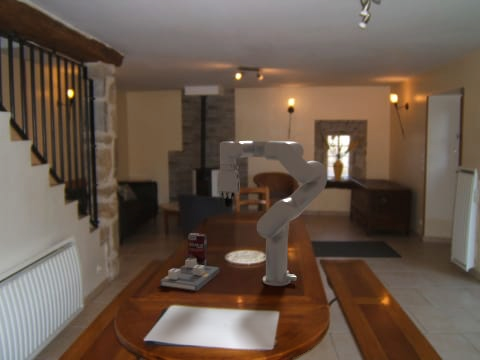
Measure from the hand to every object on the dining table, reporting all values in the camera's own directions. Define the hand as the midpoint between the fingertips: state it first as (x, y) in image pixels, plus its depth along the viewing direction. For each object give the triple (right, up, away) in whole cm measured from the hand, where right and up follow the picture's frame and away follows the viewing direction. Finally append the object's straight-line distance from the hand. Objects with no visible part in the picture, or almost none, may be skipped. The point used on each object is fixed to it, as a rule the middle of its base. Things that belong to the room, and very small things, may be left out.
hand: (228, 206), depth 196 cm
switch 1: (-24, -31, -12) cm, 41 cm away
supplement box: (-16, -31, +14) cm, 38 cm away
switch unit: (-17, -33, -5) cm, 38 cm away
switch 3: (-13, -30, -7) cm, 34 cm away
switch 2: (-18, -29, +3) cm, 35 cm away
